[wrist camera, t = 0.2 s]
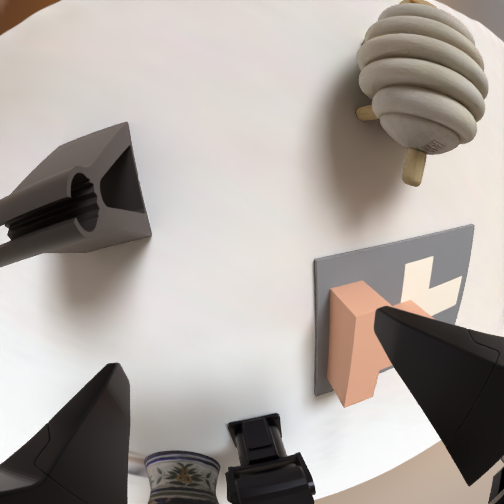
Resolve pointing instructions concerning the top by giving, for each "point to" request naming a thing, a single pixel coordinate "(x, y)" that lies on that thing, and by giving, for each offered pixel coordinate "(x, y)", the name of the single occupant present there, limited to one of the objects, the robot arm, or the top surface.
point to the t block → (357, 341)
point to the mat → (396, 281)
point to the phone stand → (77, 199)
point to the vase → (182, 478)
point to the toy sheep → (422, 81)
